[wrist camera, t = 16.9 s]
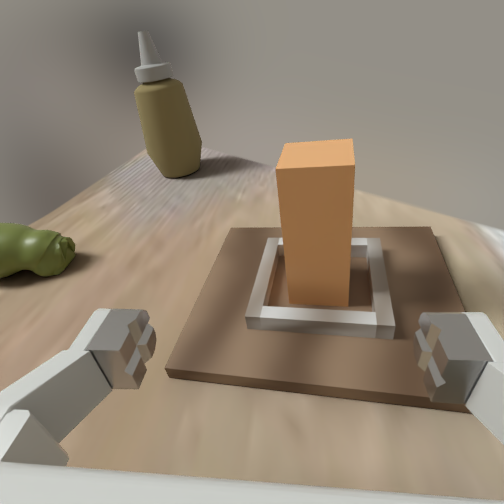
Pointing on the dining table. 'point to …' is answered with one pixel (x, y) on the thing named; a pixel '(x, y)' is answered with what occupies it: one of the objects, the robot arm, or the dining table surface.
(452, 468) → the dining table surface
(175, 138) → the squeeze bottle
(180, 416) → the dining table surface
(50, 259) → the pear
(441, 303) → the collar board
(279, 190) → the orange peg
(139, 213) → the dining table surface
